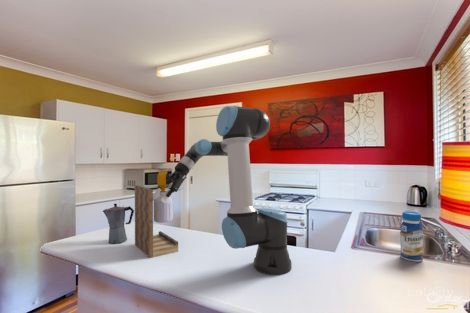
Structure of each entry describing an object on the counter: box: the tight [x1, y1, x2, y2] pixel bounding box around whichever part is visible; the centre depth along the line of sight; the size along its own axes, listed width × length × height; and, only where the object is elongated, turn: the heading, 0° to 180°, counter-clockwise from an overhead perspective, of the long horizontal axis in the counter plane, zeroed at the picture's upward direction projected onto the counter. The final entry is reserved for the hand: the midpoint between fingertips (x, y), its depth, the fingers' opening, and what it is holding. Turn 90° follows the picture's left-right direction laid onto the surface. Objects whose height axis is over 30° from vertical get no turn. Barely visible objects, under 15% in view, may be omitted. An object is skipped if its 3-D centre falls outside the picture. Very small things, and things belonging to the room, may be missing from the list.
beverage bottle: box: [399, 210, 424, 263], centre depth 116 cm, size 8×8×20 cm
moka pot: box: [102, 203, 135, 245], centre depth 141 cm, size 10×15×20 cm, turn 107°
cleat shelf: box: [134, 184, 179, 259], centre depth 130 cm, size 22×14×30 cm, turn 37°
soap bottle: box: [153, 170, 174, 224], centre depth 134 cm, size 9×9×25 cm
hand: (157, 200), depth 131 cm, fingers closed on soap bottle, 8 cm apart
